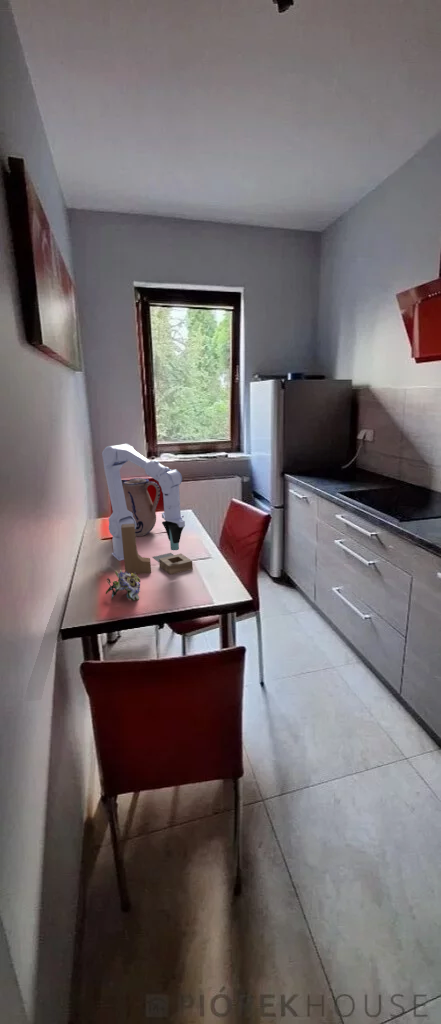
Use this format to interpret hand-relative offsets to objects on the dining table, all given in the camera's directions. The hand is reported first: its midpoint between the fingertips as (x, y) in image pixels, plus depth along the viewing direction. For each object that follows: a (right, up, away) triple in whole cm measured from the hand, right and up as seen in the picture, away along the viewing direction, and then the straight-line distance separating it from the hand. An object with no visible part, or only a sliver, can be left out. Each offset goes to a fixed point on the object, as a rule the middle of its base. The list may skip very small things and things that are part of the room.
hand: (174, 541), depth 153 cm
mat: (-5, -8, +12) cm, 15 cm away
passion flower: (-14, -17, -19) cm, 29 cm away
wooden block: (-13, -11, 0) cm, 17 cm away
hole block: (0, -10, +3) cm, 11 cm away
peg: (0, -3, +1) cm, 3 cm away
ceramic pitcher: (-20, 0, +43) cm, 47 cm away
